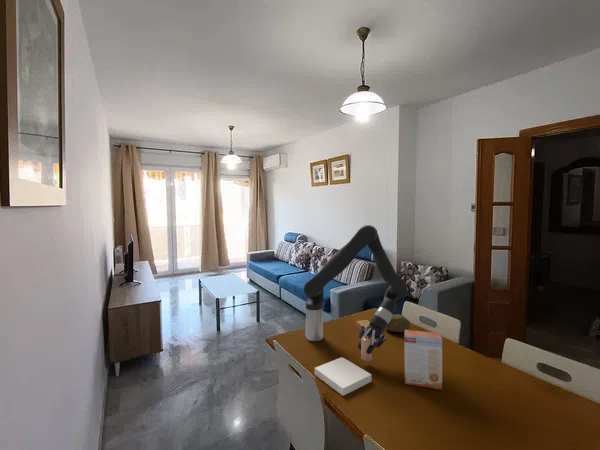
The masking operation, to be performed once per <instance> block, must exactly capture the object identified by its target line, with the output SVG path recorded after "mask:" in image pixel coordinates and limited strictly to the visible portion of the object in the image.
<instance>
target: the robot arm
mask: <svg viewBox="0 0 600 450" xmlns="http://www.w3.org/2000/svg"><path fill="white" fill-rule="evenodd" d="M366 247H368V248H369V251H370V252H371V254H372V257H373V260H374V262H375V266H376V268H377V271H379V274H380V276H381V278H382V280H383V281H384V282H386V283H388V284H389V286H388V288H387V289H386V291H385V293H384V297H383V300H382V302H381V303H380V305H379V307H378V308H377V309H376V311H375V313H374V314H373V315H372V318H371V319H370V321H369V322H370V325H369V326H368V327H364V326H362V327H361V330H360V331H359V335H358V338H359V339H360V341H359V342H358V344H357V348H358V350H360V351H361V338H363V337H368V338H370V339H371V345H369V347H368V349H367V350H366V353H367V354H371V355H372V352H373V350H374V349H375V348H377V349H379V348H380V347H382V345H383V344H384V343H385V342H386V341H387V337H386V336H385V335H384V334H383V333H385V331H386V329H387V328H386V327H387V326H388V324H389V322H390V320H391V318H392V315H394V314H395V311H396V310H397V307H398V305H397V304H398V303H397V300H398V299H404V298H405V297H407V295H408V287H407V285H406V283H405V282H404V281H403V280H402V279H401V277H400V276H399V275H398V274H397V272H396V270H395V268H394V266H393V264H392V262H391V260H390V259H389V257H388V255H387V254H386V252H385V250H384V249H385V248H384V247H383V245H382V242H381V239H380V235H379V233H378V230H377V228H376V227H375V226H373V225H371V224H370V225H369V224H367V225H366V224H365V225H362V226H361V227H360V228H359V229H358V230H357V232H356V233H355V234H354V235H353V237H351V239H350V240H349V241H348V242H347V243H346V244H345V245H344V246H342V247H341V248H340V249H339V250H338V251H336V252H335V254H333V256H331V257H330V259H329V260H327V262H326V263H325V264H324V265H323V267H322V268H321V269H320V270H319V272H318V273H316V274H315V275H314V276H313V277H312V278H310V279H309V280H307V281H306V282H305V284H304V286H303V293H304V295H305V296H306V297H307V299H306V301H305V320H304V322H305V324H304V325H305V326H304V330H305V331H304V334H305V338H306V340H308V341H311V342H320V341H322V340H323V337H324V336H323V335H324V334H323V333H324V332H323V329H324V328H323V326H324V325H323V303H324V288H325V286H326V285H327V284H328V283H330V282H331V281H333V280H334V279H335V278H336V277H337V276H339V275H340V274H341V273H342V272H344V271H345V269H347V267H349V266H350V265H351V263H352V262H353V261H354V259H355V258H356V256H357V255H358V254H359V253H360V252H361V251H362V250H364V249H365V248H366ZM366 331H367V332H366ZM365 332H366V333H365Z"/></svg>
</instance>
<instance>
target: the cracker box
mask: <svg viewBox="0 0 600 450" xmlns="http://www.w3.org/2000/svg"><path fill="white" fill-rule="evenodd" d="M404 384H405V385H409V386H416V387H421V388H429V389H435V390H443V338H442V335H441V333H440V332H432V331H431V332H430V331H422V330H411V329H409V330H405V332H404Z"/></svg>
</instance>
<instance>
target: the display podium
mask: <svg viewBox="0 0 600 450" xmlns="http://www.w3.org/2000/svg"><path fill="white" fill-rule="evenodd" d="M314 375H315V377H317V378H318V379H320V380H321V381H322V382H323V383H325V384H327V385H328V386H329V387H330V388H332V389H333V390H335V391H336V393H338V394H340V395H341V396H345V395H348V394H351V393H352V392H354V391H356V390H358V389H360V388H362V387H364V386H365V385H367V384H370V383H372V379H373V378H372V376H373V375H372V374H371V373H369V372H368V371H367V370H364V369H363V368H362V367H359V366H358V365H356V364H355V363H353V362H351V361H350V360H348V359H346V358H344V357H343V356H341V357H339V358H336V359H334V360H331V361H329V362H326V363H323V364H321V365H319V366H315V367H314Z"/></svg>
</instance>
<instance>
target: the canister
mask: <svg viewBox="0 0 600 450" xmlns="http://www.w3.org/2000/svg"><path fill="white" fill-rule="evenodd" d="M360 341H361V350H360V359H361V360H362V361H365V362H370V361H372V353H371V354H367V353H366V350H367V349H368V347H369V345H371V341H372V340H371V338H368V337H363V338H361V339H360Z"/></svg>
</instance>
